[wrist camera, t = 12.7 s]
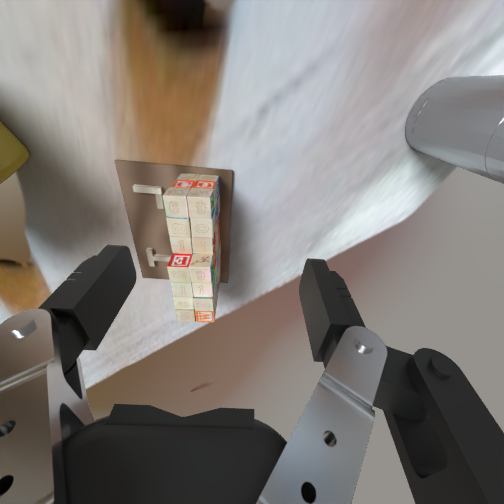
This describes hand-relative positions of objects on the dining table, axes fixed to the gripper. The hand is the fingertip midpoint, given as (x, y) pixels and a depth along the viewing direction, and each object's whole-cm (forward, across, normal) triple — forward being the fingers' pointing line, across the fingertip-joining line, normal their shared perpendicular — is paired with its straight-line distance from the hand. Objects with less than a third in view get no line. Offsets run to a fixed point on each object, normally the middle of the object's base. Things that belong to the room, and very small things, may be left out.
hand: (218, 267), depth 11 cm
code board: (+29, +10, +16) cm, 35 cm away
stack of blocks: (+29, +6, +16) cm, 33 cm away
